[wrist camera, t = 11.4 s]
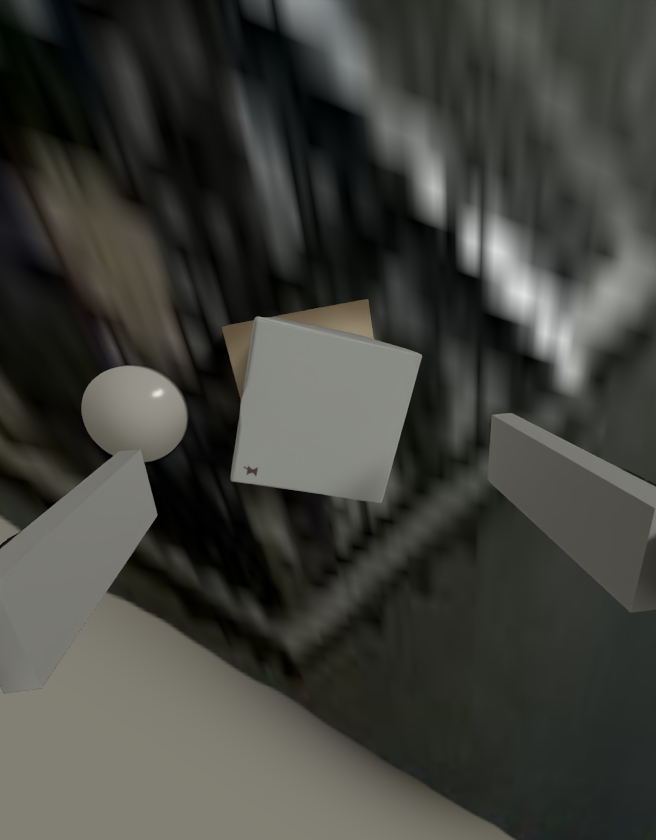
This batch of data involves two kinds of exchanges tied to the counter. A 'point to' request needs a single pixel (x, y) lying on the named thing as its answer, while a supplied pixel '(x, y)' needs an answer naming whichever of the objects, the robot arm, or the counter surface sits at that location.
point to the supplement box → (321, 410)
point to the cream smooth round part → (135, 411)
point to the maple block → (334, 317)
